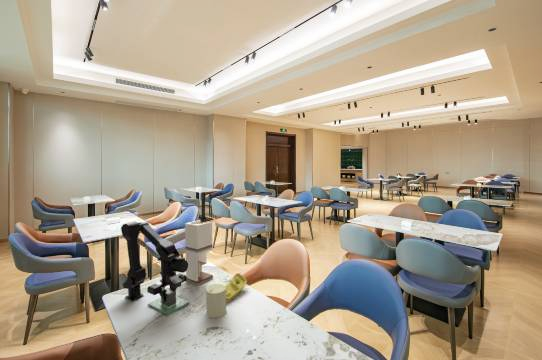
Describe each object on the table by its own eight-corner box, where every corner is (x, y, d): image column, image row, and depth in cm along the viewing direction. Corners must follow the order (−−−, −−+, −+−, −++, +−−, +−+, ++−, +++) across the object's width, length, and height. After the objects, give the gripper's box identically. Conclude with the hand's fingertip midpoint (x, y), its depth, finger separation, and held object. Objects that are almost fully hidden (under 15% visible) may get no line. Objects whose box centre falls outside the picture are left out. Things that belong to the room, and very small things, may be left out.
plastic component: (228, 299, 131) (213, 287, 135) (223, 310, 133) (209, 298, 137) (249, 281, 148) (236, 270, 152) (245, 291, 150) (232, 280, 154)
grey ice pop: (156, 300, 133) (155, 288, 133) (163, 297, 136) (162, 285, 136) (169, 306, 127) (168, 294, 127) (176, 302, 130) (175, 291, 130)
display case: (198, 285, 151) (197, 225, 149) (186, 281, 157) (184, 223, 155) (212, 278, 161) (211, 221, 159) (200, 274, 167) (199, 219, 165)
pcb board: (148, 305, 130) (147, 297, 130) (169, 295, 140) (168, 288, 140) (168, 315, 121) (167, 307, 121) (189, 303, 131) (188, 296, 131)
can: (202, 312, 123) (202, 287, 123) (218, 304, 130) (218, 281, 130) (214, 320, 117) (213, 294, 116) (230, 312, 124) (230, 287, 123)
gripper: (160, 280, 117) (161, 314, 118) (193, 266, 133) (194, 296, 134) (146, 274, 124) (147, 306, 124) (179, 262, 139) (180, 291, 140)
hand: (168, 300), depth 131 cm, fingers closed on grey ice pop, 4 cm apart
